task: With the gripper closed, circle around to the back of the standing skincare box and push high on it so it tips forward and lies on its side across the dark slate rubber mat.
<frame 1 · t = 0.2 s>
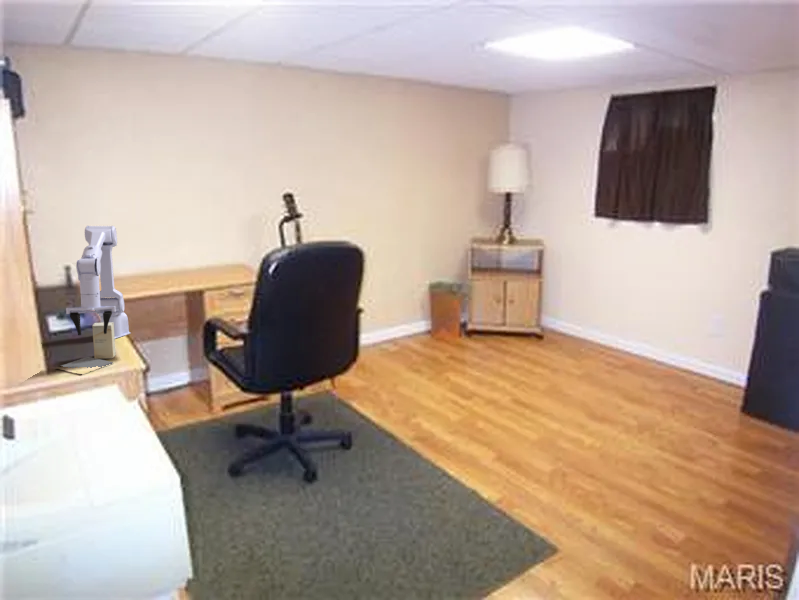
hand: (92, 334, 193), 11 cm above the table, tool pointing down, fingers open, 7 cm apart
skincare box: (105, 357, 202), on the table
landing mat: (85, 366, 192), on the table
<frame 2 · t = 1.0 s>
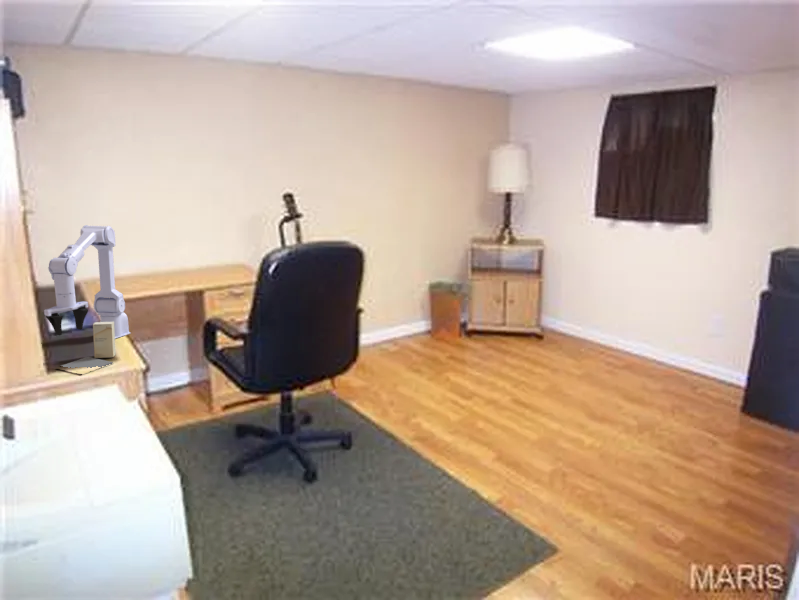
hand: (69, 331, 195), 10 cm above the table, tool pointing down, fingers open, 7 cm apart
nothing on the table moved.
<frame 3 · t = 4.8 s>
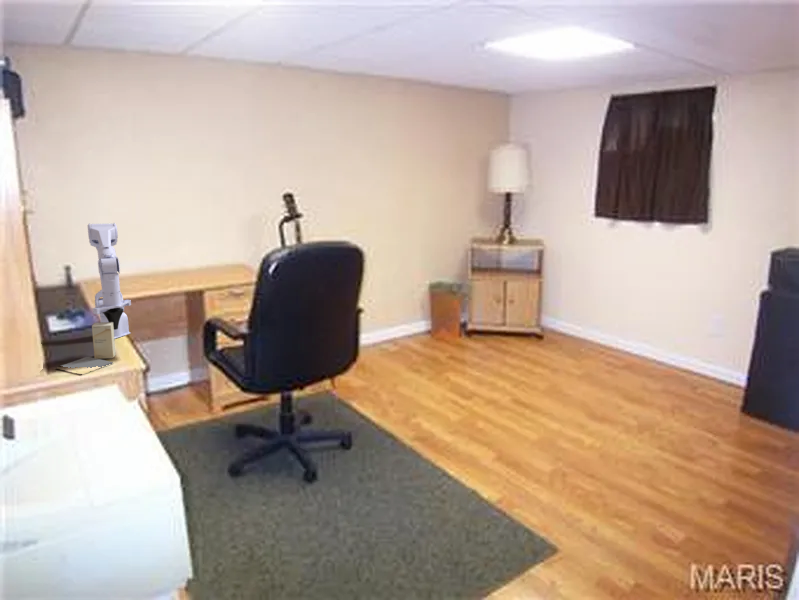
hand: (114, 329, 204), 9 cm above the table, tool pointing down, fingers closed
skincare box: (105, 357, 202), on the table, touching gripper
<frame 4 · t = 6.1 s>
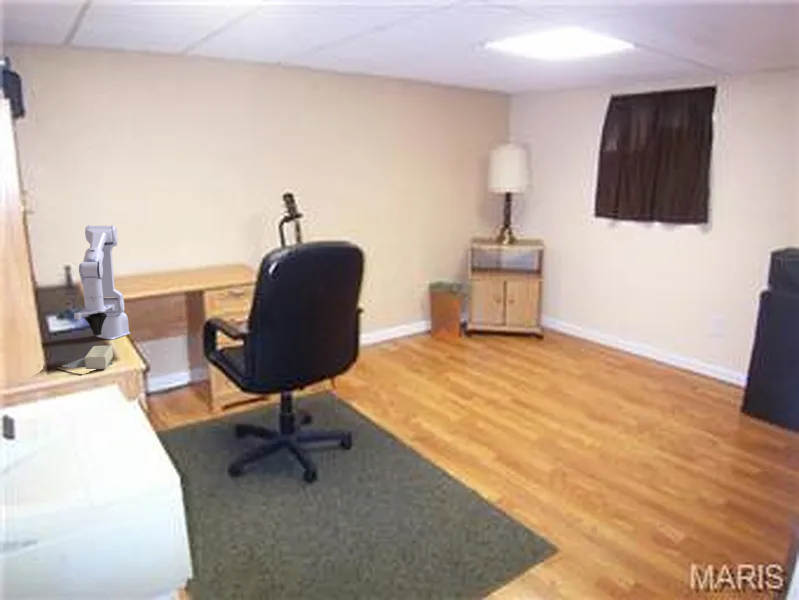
hand: (97, 334, 197), 9 cm above the table, tool pointing down, fingers closed
skincare box: (103, 350, 199), point 3 cm above the table, touching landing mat
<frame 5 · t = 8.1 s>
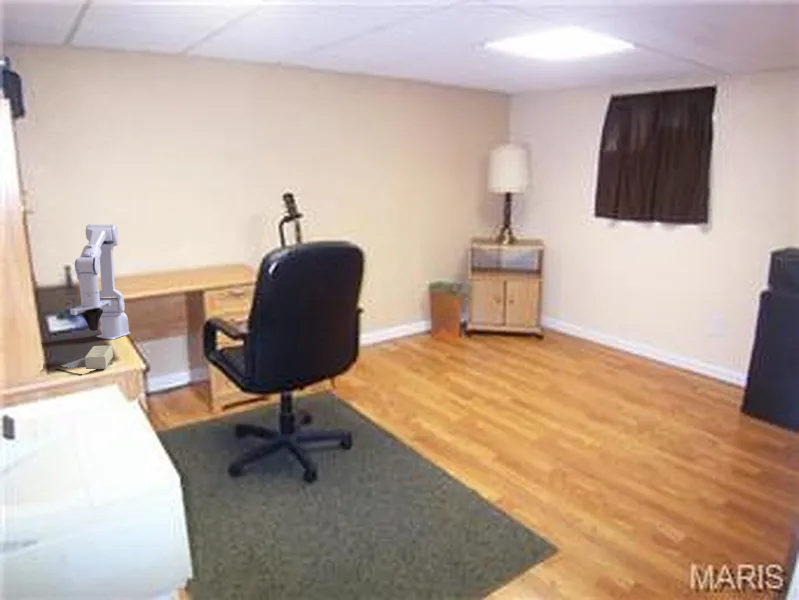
hand: (93, 330, 198), 10 cm above the table, tool pointing down, fingers closed
nothing on the table moved.
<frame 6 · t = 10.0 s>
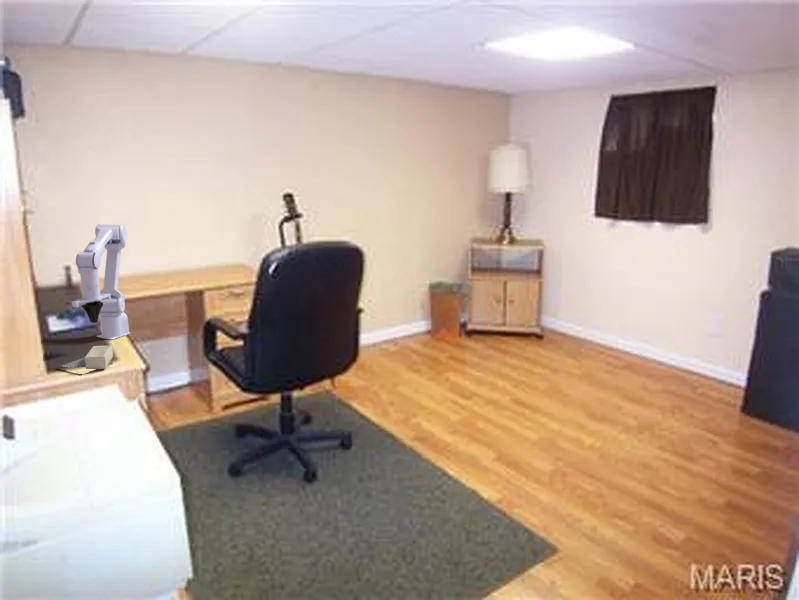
hand: (94, 322, 206), 10 cm above the table, tool pointing down, fingers closed
nothing on the table moved.
at the end: skincare box tilted 91°; skincare box touching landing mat; skincare box inside the target area (6.2 cm from its centre), point 2.8 cm above the table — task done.
